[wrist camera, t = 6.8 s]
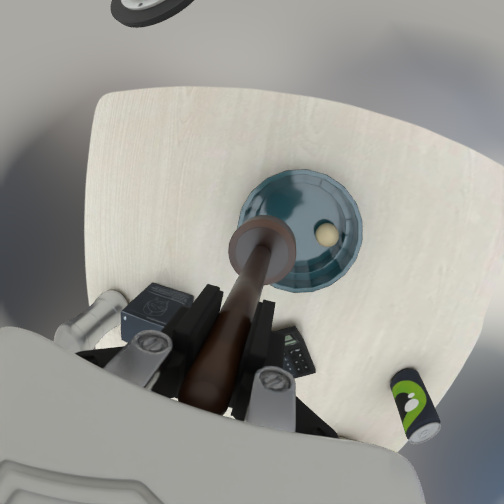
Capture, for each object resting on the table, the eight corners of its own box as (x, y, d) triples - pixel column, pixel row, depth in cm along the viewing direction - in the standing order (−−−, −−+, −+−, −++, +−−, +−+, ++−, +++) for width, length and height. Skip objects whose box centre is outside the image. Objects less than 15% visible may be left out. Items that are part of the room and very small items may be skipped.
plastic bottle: (133, 293, 46) (63, 355, 27) (131, 323, 48) (70, 387, 29) (106, 281, 46) (32, 333, 27) (105, 310, 48) (41, 366, 29)
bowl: (259, 158, 36) (252, 156, 31) (364, 187, 35) (377, 190, 29) (236, 260, 41) (227, 275, 35) (334, 286, 40) (340, 304, 34)
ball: (318, 218, 37) (320, 222, 34) (339, 224, 37) (343, 229, 34) (311, 240, 38) (313, 246, 35) (333, 246, 38) (336, 252, 35)
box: (150, 309, 46) (120, 340, 36) (152, 281, 44) (119, 309, 34) (190, 323, 45) (166, 359, 35) (195, 295, 44) (169, 329, 34)
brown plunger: (241, 207, 24) (105, 307, 6) (303, 223, 24) (327, 375, 6) (229, 265, 26) (120, 427, 8) (286, 281, 25) (265, 474, 7)
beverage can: (416, 384, 43) (438, 437, 29) (388, 392, 45) (405, 449, 30) (418, 362, 42) (445, 417, 28) (389, 371, 43) (410, 430, 29)
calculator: (266, 381, 47) (265, 392, 44) (241, 333, 45) (238, 344, 42) (315, 369, 45) (316, 380, 42) (295, 318, 42) (294, 328, 39)
